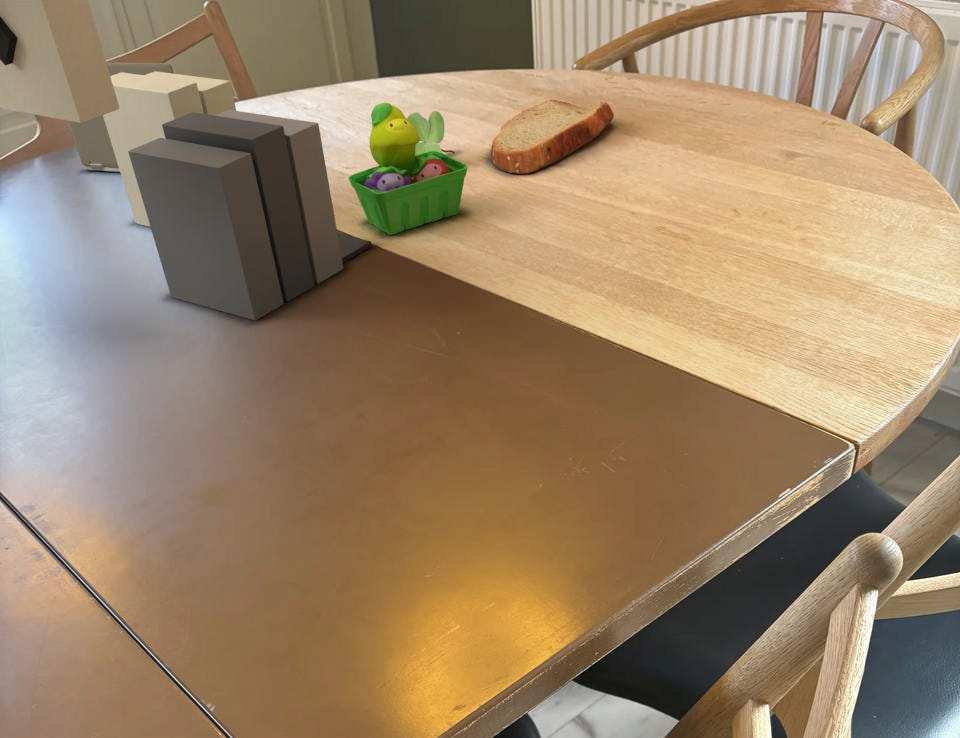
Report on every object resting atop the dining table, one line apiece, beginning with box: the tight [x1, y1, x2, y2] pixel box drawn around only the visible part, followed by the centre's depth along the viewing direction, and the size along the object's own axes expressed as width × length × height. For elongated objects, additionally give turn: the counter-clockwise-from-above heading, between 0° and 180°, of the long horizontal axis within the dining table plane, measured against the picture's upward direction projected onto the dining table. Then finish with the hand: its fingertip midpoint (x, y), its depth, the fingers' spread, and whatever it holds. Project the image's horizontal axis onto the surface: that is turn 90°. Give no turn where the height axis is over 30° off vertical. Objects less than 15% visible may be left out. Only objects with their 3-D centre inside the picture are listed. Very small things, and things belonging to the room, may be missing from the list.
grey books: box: [128, 110, 373, 322], centre depth 100 cm, size 19×12×15 cm, turn 145°
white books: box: [103, 71, 237, 228], centre depth 115 cm, size 14×12×15 cm
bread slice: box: [490, 99, 615, 175], centre depth 126 cm, size 18×18×4 cm
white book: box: [0, 0, 120, 123], centre depth 80 cm, size 4×12×14 cm, turn 54°
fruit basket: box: [348, 102, 469, 236], centre depth 109 cm, size 11×9×11 cm
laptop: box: [67, 61, 175, 173], centre depth 131 cm, size 18×12×13 cm
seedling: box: [406, 110, 456, 155], centre depth 126 cm, size 7×8×7 cm
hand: (35, 43), depth 82 cm, fingers closed on white book, 4 cm apart
